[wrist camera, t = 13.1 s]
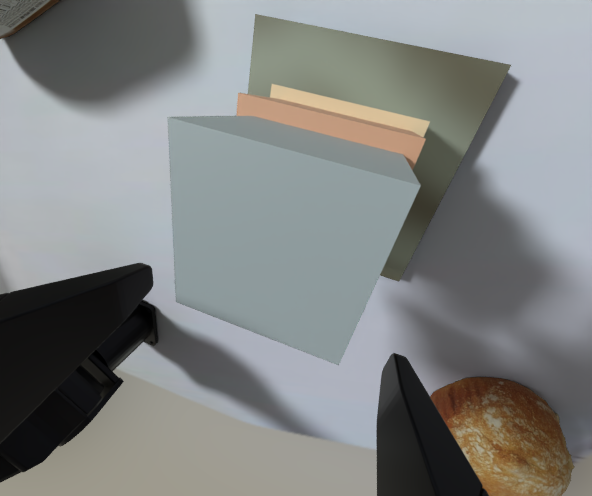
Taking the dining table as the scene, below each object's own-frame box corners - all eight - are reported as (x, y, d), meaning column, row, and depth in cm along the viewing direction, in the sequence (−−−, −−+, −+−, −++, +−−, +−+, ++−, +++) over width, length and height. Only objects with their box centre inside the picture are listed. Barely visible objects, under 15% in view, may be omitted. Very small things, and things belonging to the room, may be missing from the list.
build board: (398, 274, 19) (403, 319, 15) (240, 222, 21) (205, 249, 17) (502, 68, 13) (562, 45, 9) (262, 19, 15) (215, -19, 11)
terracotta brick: (364, 250, 14) (359, 294, 11) (261, 217, 15) (225, 248, 11) (411, 131, 11) (425, 139, 8) (279, 98, 12) (238, 92, 8)
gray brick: (352, 282, 10) (338, 365, 7) (238, 244, 11) (175, 301, 8) (403, 154, 8) (420, 185, 4) (252, 115, 9) (167, 116, 5)
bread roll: (528, 405, 26) (636, 496, 18) (442, 461, 27) (511, 572, 19) (482, 335, 24) (582, 404, 16) (391, 398, 25) (444, 493, 17)
